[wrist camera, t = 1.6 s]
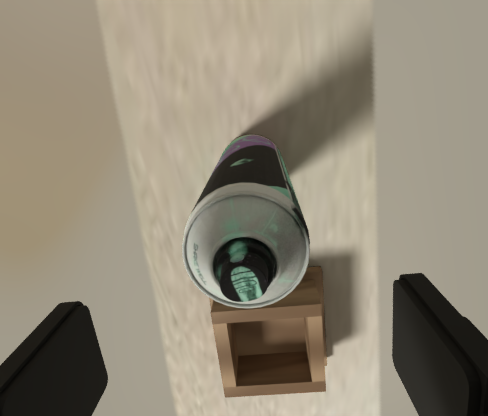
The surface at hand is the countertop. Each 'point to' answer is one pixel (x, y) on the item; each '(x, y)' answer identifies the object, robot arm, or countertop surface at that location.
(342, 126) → the countertop surface
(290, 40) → the countertop surface
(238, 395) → the can holder
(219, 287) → the spray can
